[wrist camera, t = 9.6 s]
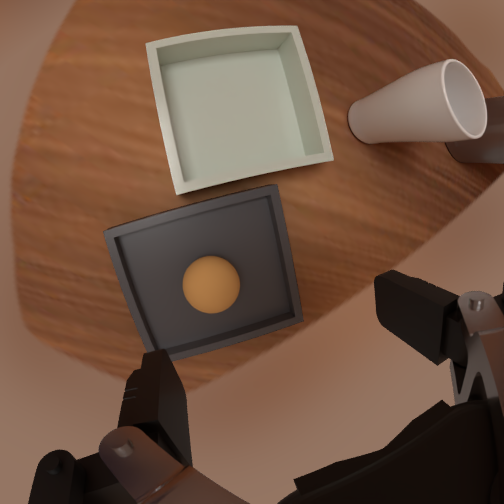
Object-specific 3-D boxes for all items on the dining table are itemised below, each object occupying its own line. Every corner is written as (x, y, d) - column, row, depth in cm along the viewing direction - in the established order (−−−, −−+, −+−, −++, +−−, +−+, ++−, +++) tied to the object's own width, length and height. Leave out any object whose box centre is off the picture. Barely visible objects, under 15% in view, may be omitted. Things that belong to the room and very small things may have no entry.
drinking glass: (365, 162, 30) (472, 156, 16) (328, 114, 28) (429, 76, 14) (395, 130, 30) (494, 115, 16) (363, 85, 28) (458, 47, 14)
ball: (227, 244, 27) (237, 256, 23) (239, 292, 29) (251, 313, 24) (175, 258, 27) (174, 274, 22) (190, 306, 28) (193, 330, 23)
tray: (269, 184, 28) (277, 184, 26) (294, 311, 32) (303, 321, 29) (109, 227, 25) (102, 231, 23) (154, 353, 29) (153, 365, 27)
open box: (279, 46, 25) (297, 25, 21) (310, 164, 29) (333, 160, 24) (150, 65, 23) (145, 43, 18) (177, 194, 26) (176, 195, 22)
